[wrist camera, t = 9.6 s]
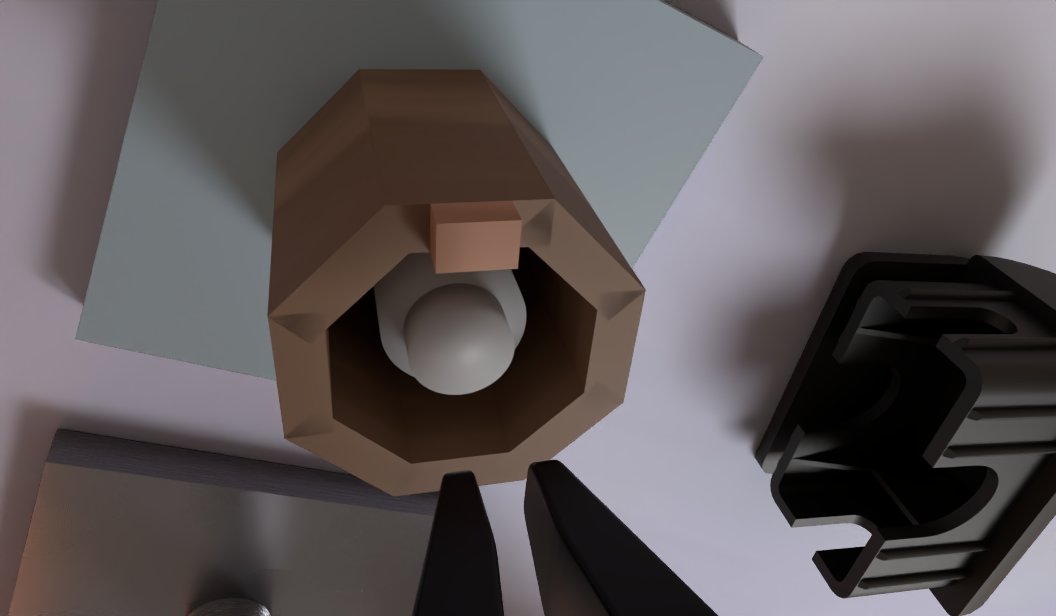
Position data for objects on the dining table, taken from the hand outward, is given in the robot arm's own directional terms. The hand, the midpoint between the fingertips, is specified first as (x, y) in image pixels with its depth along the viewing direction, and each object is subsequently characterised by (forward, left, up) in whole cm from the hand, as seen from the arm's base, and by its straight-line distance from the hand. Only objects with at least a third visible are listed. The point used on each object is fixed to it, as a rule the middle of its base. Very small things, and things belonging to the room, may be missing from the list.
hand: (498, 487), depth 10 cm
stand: (-16, 0, -10) cm, 19 cm away
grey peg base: (0, 0, -10) cm, 10 cm away
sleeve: (0, 0, -9) cm, 9 cm away
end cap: (-1, -18, -10) cm, 21 cm away
